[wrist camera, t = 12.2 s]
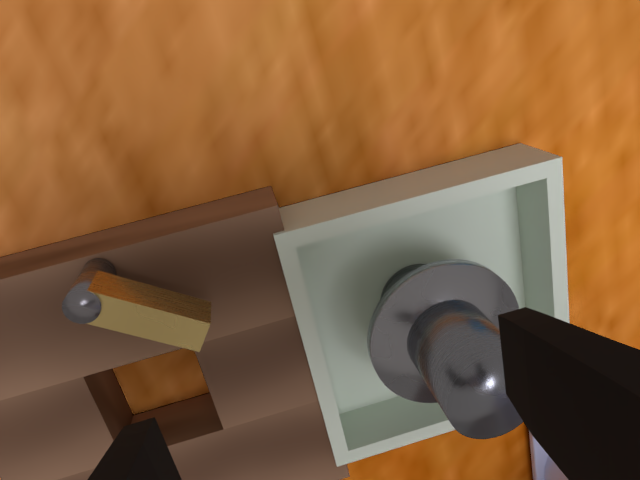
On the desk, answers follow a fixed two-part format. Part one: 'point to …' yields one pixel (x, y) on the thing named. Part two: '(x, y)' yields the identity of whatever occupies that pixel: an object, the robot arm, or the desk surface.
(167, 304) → the lever
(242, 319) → the socket block
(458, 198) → the tray
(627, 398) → the robot arm
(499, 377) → the pin
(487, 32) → the desk surface
